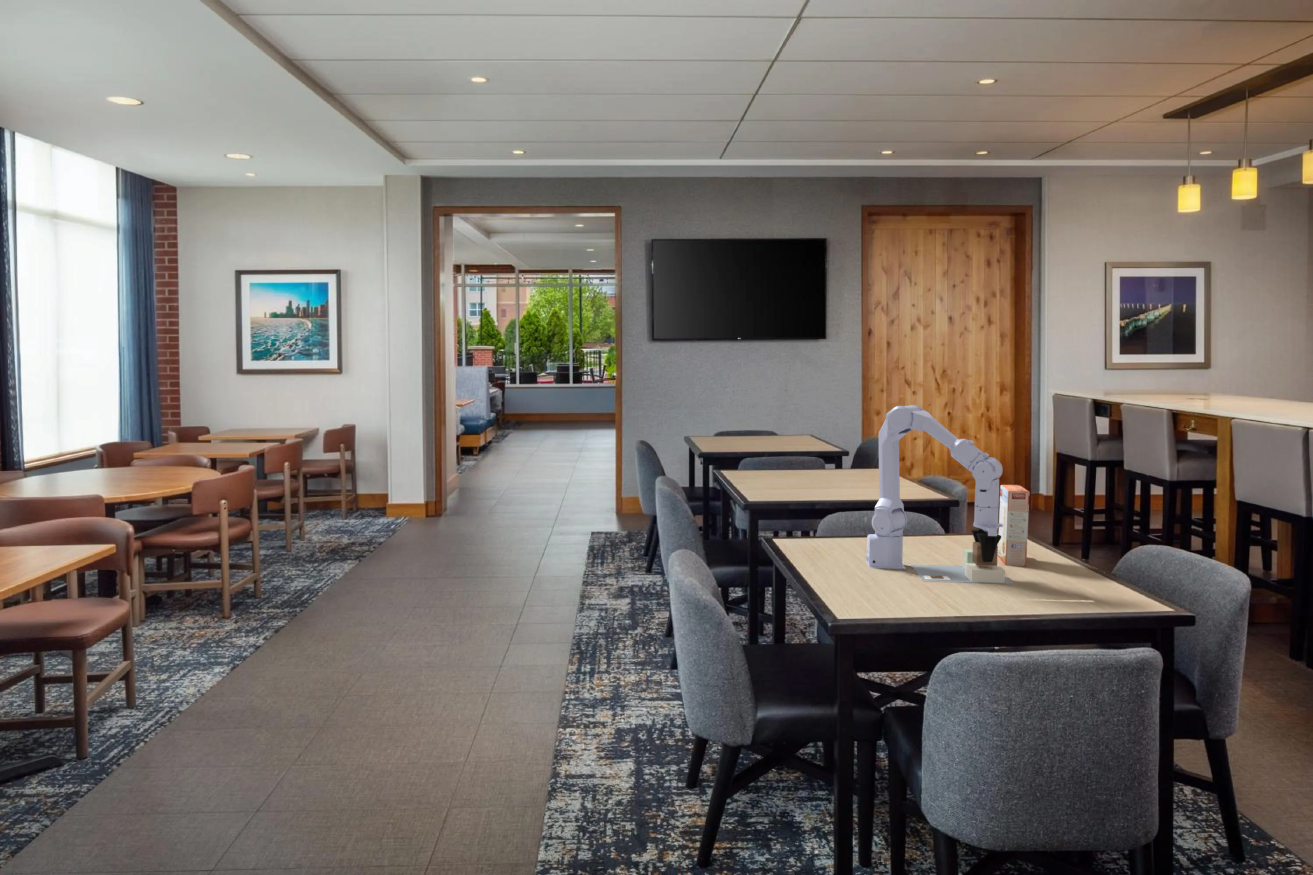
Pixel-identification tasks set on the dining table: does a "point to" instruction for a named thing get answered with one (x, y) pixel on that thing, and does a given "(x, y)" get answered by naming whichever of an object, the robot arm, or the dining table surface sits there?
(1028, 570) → the dining table surface
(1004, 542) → the cracker box
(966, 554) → the sage block
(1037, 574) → the dining table surface
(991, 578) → the cream base block
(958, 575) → the board
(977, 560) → the walnut block
